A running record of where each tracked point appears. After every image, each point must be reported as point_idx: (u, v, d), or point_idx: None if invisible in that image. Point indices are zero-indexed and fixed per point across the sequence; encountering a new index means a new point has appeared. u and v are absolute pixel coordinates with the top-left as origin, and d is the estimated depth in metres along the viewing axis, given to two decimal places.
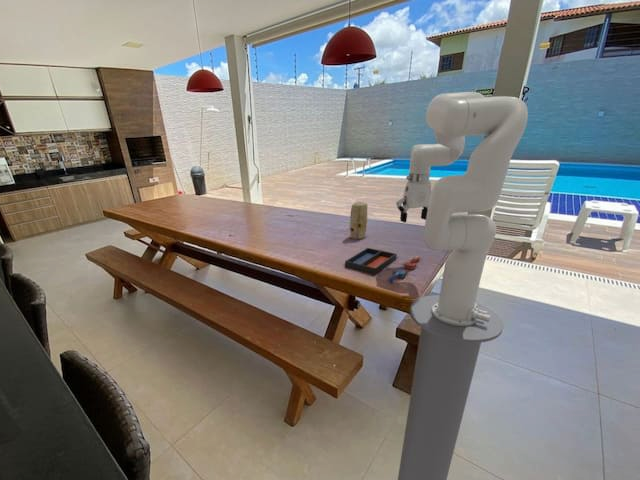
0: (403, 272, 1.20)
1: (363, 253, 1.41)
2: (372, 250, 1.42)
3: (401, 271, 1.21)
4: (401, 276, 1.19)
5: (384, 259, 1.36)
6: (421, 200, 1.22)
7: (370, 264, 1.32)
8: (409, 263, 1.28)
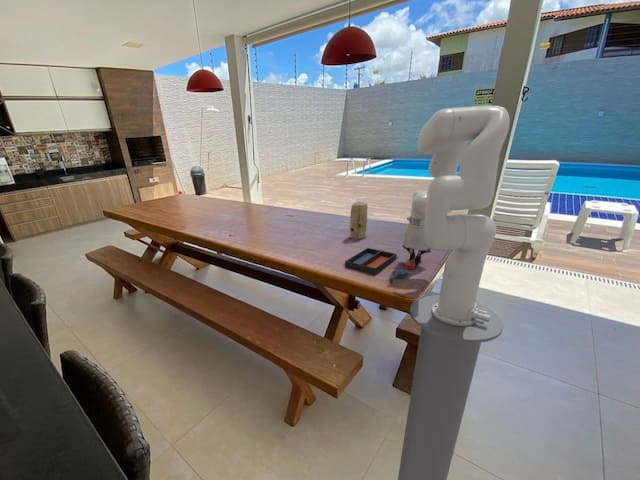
0: (403, 272, 1.20)
1: (363, 253, 1.41)
2: (372, 250, 1.42)
3: (401, 271, 1.21)
4: (401, 276, 1.19)
5: (384, 259, 1.36)
6: (415, 243, 1.26)
7: (370, 264, 1.32)
8: (409, 263, 1.28)
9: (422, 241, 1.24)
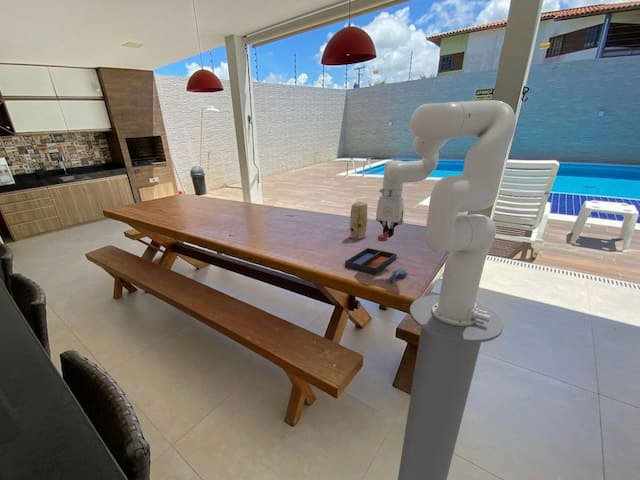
0: (403, 272, 1.20)
1: (363, 253, 1.41)
2: (372, 250, 1.42)
3: (401, 271, 1.21)
4: (401, 276, 1.19)
5: (384, 259, 1.36)
6: (388, 214, 1.25)
7: (370, 264, 1.32)
8: (381, 235, 1.27)
9: (394, 212, 1.23)
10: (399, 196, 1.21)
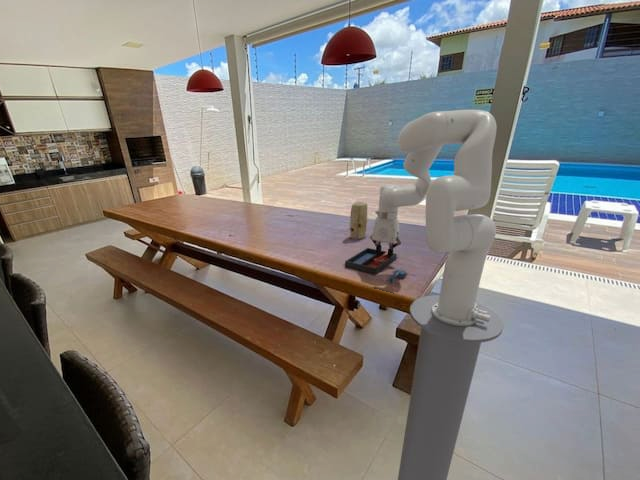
0: (403, 272, 1.20)
1: (363, 253, 1.41)
2: (372, 250, 1.42)
3: (401, 271, 1.21)
4: (401, 276, 1.19)
5: (384, 259, 1.36)
6: (383, 236, 1.29)
7: (370, 264, 1.32)
8: (377, 259, 1.31)
9: (389, 234, 1.27)
10: (394, 218, 1.25)
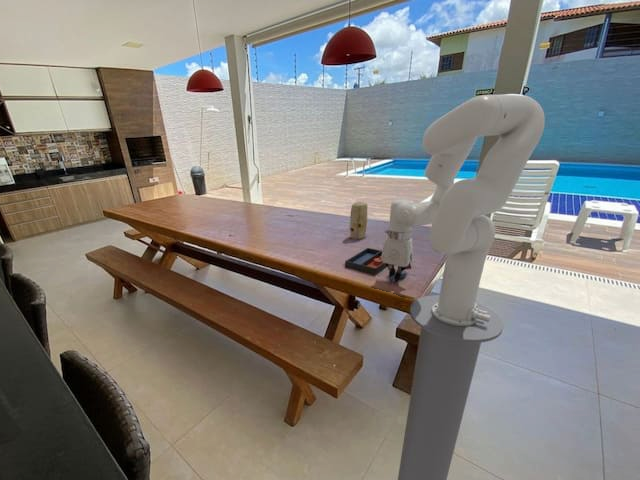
0: (403, 272, 1.20)
1: (363, 253, 1.41)
2: (372, 250, 1.42)
3: None
4: (401, 276, 1.19)
5: None
6: (395, 258, 1.12)
7: (370, 264, 1.32)
8: (377, 259, 1.31)
9: (401, 256, 1.10)
10: (407, 239, 1.08)
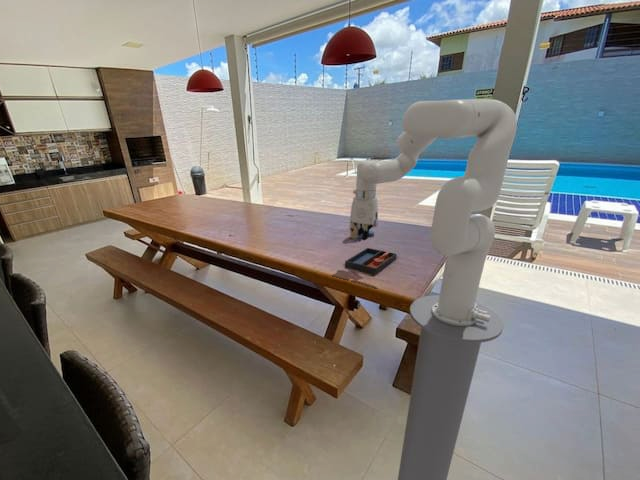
0: (371, 232, 1.29)
1: (363, 253, 1.41)
2: (372, 250, 1.42)
3: (370, 231, 1.30)
4: (369, 236, 1.28)
5: (384, 259, 1.36)
6: (361, 216, 1.20)
7: (370, 264, 1.32)
8: (377, 259, 1.31)
9: (367, 214, 1.18)
10: (372, 197, 1.17)
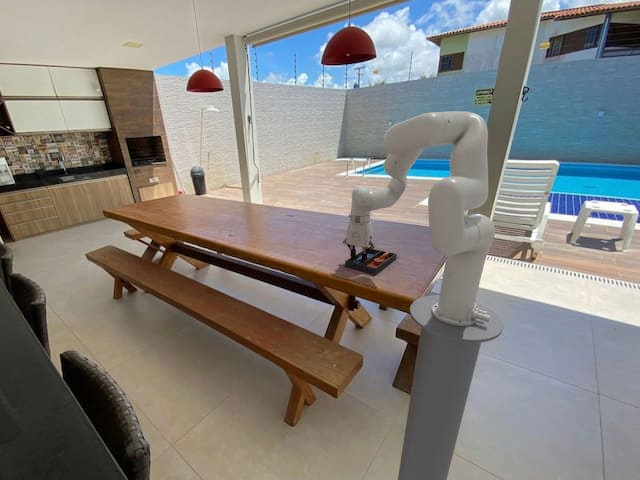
0: None
1: None
2: (372, 250, 1.42)
3: None
4: None
5: (384, 259, 1.36)
6: (357, 240, 1.26)
7: (370, 264, 1.32)
8: (377, 259, 1.31)
9: (362, 238, 1.24)
10: (367, 222, 1.22)
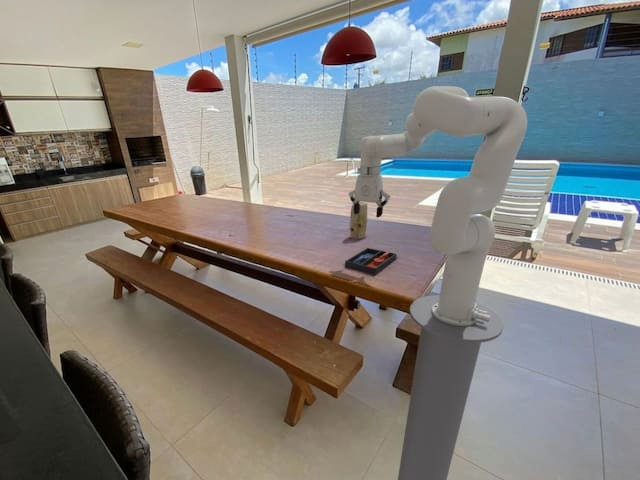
0: (366, 257, 1.35)
1: (363, 253, 1.41)
2: (372, 250, 1.42)
3: (365, 256, 1.36)
4: (364, 260, 1.34)
5: (384, 259, 1.36)
6: (366, 194, 1.18)
7: (370, 264, 1.32)
8: (377, 259, 1.31)
9: (372, 192, 1.16)
10: (377, 174, 1.14)
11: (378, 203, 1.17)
